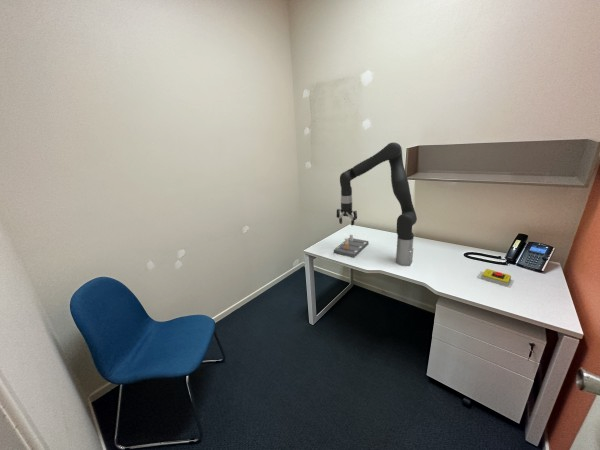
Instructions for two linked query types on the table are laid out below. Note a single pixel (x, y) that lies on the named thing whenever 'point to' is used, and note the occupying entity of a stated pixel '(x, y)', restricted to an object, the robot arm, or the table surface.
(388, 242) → the table surface
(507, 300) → the table surface
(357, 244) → the panel
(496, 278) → the emergency button
